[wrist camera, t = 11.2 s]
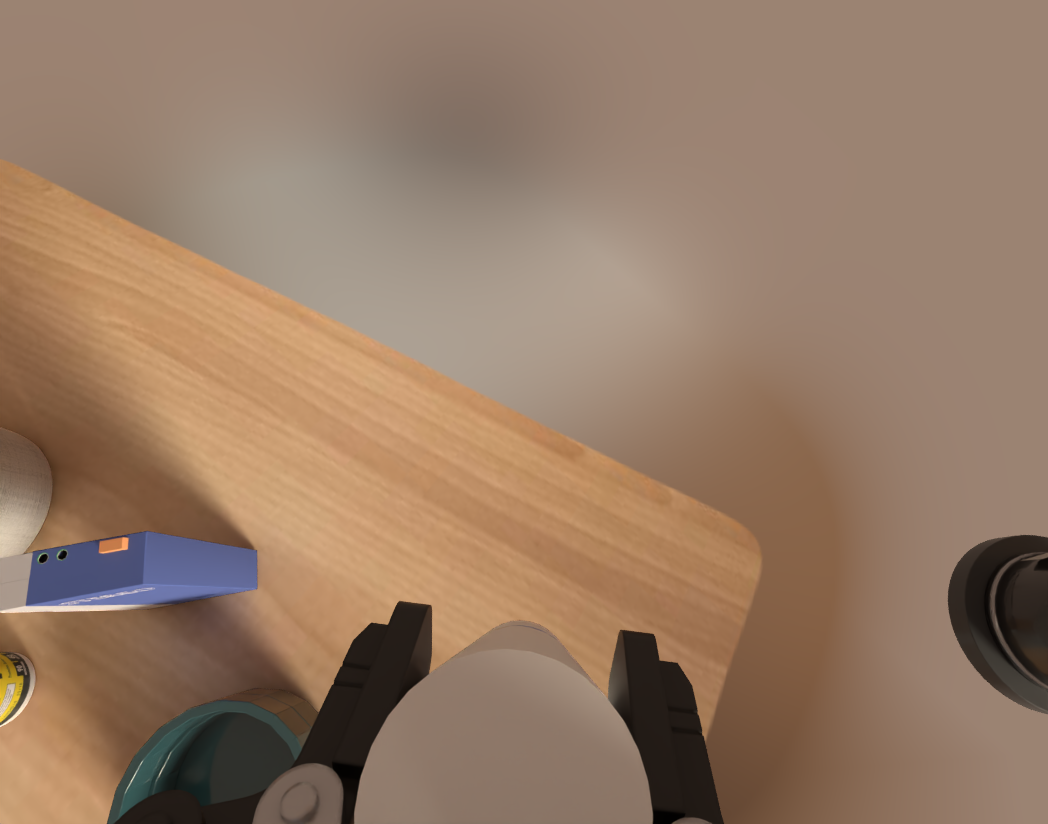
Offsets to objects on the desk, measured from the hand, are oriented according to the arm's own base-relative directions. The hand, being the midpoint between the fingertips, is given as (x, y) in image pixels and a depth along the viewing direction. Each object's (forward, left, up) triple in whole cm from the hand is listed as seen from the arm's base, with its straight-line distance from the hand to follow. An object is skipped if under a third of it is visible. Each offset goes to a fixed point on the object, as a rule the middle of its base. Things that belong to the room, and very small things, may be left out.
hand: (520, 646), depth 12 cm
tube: (0, +2, -11) cm, 11 cm away
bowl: (+13, +16, -26) cm, 33 cm away
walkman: (+23, +6, -26) cm, 35 cm away
